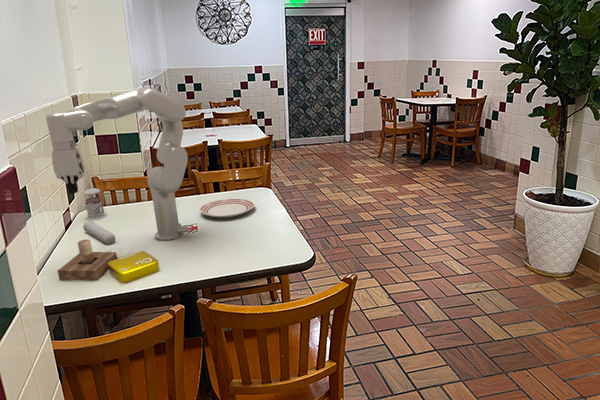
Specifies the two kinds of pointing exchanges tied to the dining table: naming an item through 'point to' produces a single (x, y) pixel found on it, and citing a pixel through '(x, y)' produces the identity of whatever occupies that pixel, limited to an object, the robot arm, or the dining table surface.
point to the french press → (94, 213)
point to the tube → (99, 232)
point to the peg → (85, 252)
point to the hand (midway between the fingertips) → (73, 192)
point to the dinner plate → (226, 208)
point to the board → (86, 267)
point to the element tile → (133, 266)
